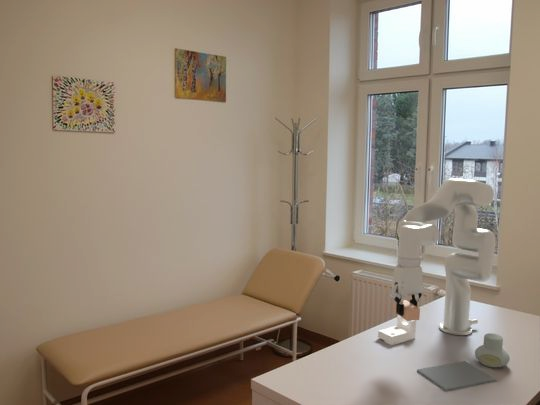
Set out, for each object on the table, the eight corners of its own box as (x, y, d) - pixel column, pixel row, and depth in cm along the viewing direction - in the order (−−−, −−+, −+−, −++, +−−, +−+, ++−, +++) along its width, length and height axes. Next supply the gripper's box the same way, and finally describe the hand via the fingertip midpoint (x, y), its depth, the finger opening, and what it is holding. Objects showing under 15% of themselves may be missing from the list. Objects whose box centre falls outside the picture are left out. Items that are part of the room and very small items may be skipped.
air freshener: (509, 363, 173) (512, 335, 172) (507, 372, 166) (509, 344, 164) (476, 355, 178) (478, 329, 177) (472, 364, 171) (474, 337, 170)
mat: (464, 362, 173) (464, 360, 173) (496, 380, 160) (496, 379, 160) (417, 371, 166) (417, 369, 166) (445, 391, 153) (446, 389, 153)
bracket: (401, 332, 199) (402, 314, 198) (415, 338, 193) (416, 320, 192) (377, 339, 192) (378, 320, 191) (391, 345, 186) (392, 326, 185)
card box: (405, 310, 176) (405, 299, 176) (419, 319, 168) (419, 308, 167) (393, 311, 175) (394, 300, 174) (407, 321, 166) (408, 309, 166)
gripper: (420, 257, 176) (418, 306, 178) (381, 261, 168) (379, 313, 171) (436, 261, 169) (433, 313, 171) (396, 266, 162) (393, 320, 164)
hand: (406, 312), depth 171 cm, fingers closed on card box, 5 cm apart
